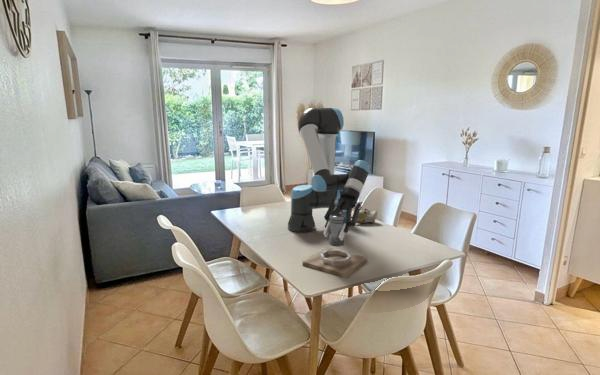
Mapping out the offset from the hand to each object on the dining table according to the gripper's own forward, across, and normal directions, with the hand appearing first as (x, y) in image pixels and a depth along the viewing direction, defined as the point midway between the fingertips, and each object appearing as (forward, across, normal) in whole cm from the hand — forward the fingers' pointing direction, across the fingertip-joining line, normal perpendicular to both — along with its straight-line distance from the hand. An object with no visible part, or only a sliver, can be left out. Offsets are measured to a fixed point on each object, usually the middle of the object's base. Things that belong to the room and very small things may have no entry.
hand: (332, 237), depth 145 cm
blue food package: (-32, +28, -50) cm, 65 cm away
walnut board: (+6, 0, -12) cm, 13 cm away
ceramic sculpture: (-37, +14, -54) cm, 67 cm away
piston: (0, 0, -5) cm, 5 cm away
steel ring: (+5, 0, -11) cm, 12 cm away
